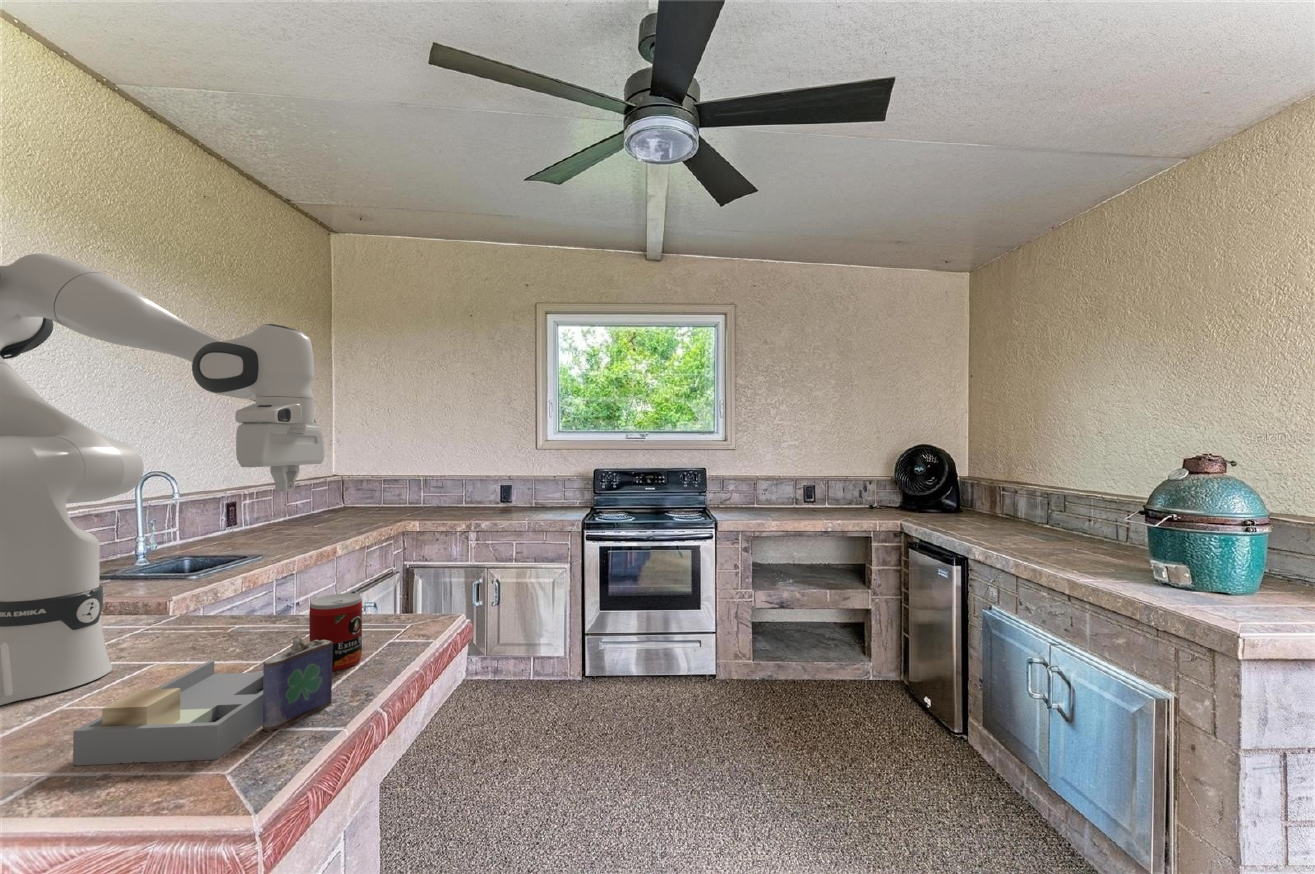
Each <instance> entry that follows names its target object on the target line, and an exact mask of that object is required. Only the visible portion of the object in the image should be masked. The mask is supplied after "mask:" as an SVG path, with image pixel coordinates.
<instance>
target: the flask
mask: <svg viewBox="0 0 1315 874" xmlns="http://www.w3.org/2000/svg"><path fill="white" fill-rule="evenodd" d="M303 640H304V639H303V636H300V635H296V636H294V637H292V638H291V639H288V641H289V642H291V641H292V645H291V646H290V649H291V650H288V651H286V652H285V651H284V652H283V653H280V654H277V655H275V656H272V657H270V658H268V659H266V660H265V661H264V662H263V663H262V665H263V667H262V669H263V671H262V672H264V679H263V724H262V725H261V726H262V729H263V731H264V732H265V731H267V732H270V733H271V732H272V731H273V730H279V729H282V728H284V727H286V726H287V725H288V724H292V723H295V722H297V721H299V720H302V719H303V718H306V717H307V715H309V714H314V713H315V712H316V711H320V710H322V709H324V708H326V707H329V706H330V705H331V704H332V703H333V701H332V693H333V692H332V689H333V688H332V687H333V686H332V685H333V684H332V681H333V671H332V656H333V652H332V649H333V642H332V641H328V640H321V641H320V640H315V641H313V642H310V641H309V642H307V643H306V642H304V641H303ZM314 642H315V643H314Z"/></svg>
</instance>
